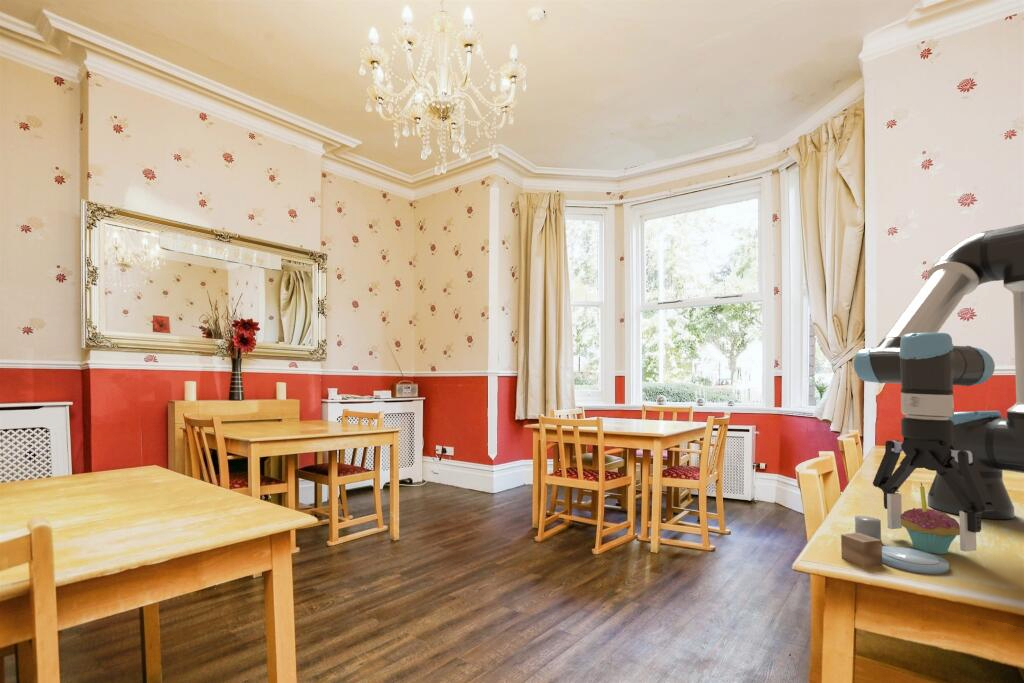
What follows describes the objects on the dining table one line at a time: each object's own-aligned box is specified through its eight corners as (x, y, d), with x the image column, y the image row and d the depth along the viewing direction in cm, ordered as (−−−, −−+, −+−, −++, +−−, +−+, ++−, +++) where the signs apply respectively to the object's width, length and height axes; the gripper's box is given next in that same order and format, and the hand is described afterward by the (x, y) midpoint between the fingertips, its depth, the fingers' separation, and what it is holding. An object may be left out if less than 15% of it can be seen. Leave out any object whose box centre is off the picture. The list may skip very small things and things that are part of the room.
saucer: (901, 549, 92) (901, 542, 92) (964, 571, 83) (964, 563, 83) (859, 554, 89) (858, 547, 89) (919, 577, 80) (919, 569, 80)
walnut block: (859, 556, 89) (859, 532, 89) (882, 565, 85) (881, 540, 85) (841, 558, 88) (841, 534, 88) (863, 567, 84) (863, 542, 84)
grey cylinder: (865, 536, 100) (865, 515, 100) (886, 543, 96) (886, 521, 96) (850, 537, 99) (849, 516, 99) (870, 544, 95) (869, 522, 95)
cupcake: (943, 560, 87) (941, 488, 88) (889, 544, 95) (888, 478, 96) (971, 554, 91) (969, 485, 91) (917, 539, 99) (916, 475, 99)
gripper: (850, 411, 105) (851, 520, 103) (990, 425, 82) (993, 564, 80) (878, 411, 107) (879, 518, 106) (1021, 424, 84) (1025, 560, 83)
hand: (929, 538), depth 93 cm, fingers open, 12 cm apart
